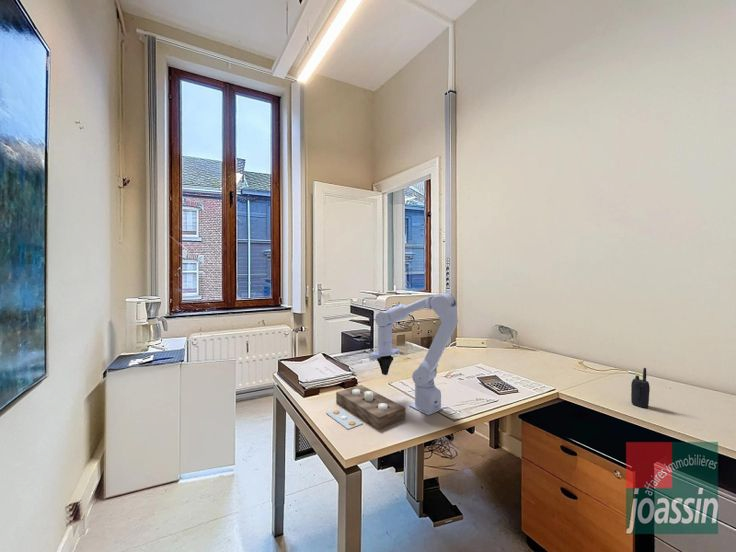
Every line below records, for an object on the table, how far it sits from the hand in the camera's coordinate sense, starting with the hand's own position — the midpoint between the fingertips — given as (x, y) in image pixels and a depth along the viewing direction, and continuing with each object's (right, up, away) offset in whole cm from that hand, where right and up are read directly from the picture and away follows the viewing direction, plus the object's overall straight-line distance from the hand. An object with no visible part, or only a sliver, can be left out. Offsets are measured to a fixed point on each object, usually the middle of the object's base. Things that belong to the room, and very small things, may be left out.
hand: (384, 374), depth 129 cm
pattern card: (-15, -10, -18) cm, 25 cm away
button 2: (-2, -9, -17) cm, 20 cm away
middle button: (-6, -7, -11) cm, 15 cm away
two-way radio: (+97, -10, -7) cm, 97 cm away
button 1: (-11, -9, -5) cm, 15 cm away
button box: (-6, -10, -11) cm, 16 cm away
